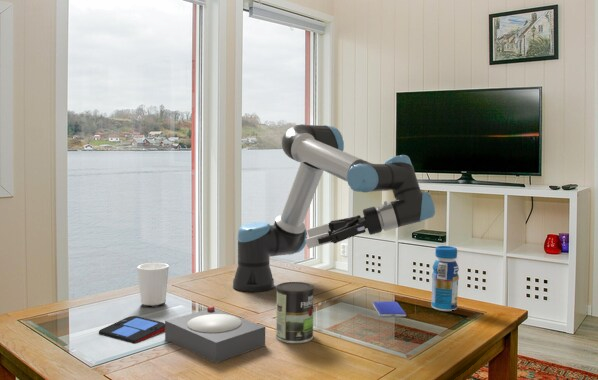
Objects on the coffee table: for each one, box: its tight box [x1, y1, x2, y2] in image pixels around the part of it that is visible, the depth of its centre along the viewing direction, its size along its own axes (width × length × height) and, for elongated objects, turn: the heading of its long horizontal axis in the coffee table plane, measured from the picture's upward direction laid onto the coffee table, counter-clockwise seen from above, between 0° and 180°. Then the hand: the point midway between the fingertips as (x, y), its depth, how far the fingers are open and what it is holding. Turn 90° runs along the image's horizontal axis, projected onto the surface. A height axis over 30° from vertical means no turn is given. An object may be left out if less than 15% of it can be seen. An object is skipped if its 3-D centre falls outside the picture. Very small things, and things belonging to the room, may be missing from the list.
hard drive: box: [372, 300, 407, 317], centre depth 168 cm, size 2×8×12 cm
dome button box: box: [164, 305, 266, 364], centre depth 138 cm, size 22×16×6 cm
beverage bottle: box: [430, 245, 460, 312], centre depth 170 cm, size 8×8×20 cm
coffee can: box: [275, 281, 315, 345], centre depth 142 cm, size 10×10×14 cm
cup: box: [136, 262, 170, 308], centre depth 169 cm, size 10×10×13 cm
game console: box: [98, 315, 165, 344], centre depth 145 cm, size 14×13×2 cm
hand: (307, 238), depth 150 cm, fingers open, 13 cm apart
